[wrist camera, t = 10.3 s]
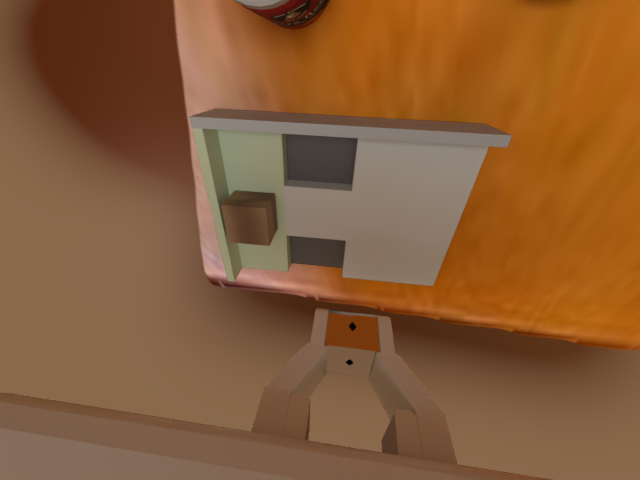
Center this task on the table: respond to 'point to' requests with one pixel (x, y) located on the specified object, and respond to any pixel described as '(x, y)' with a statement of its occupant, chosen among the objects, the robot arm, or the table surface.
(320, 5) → the canned food
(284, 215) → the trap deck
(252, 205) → the walnut block
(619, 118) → the table surface
